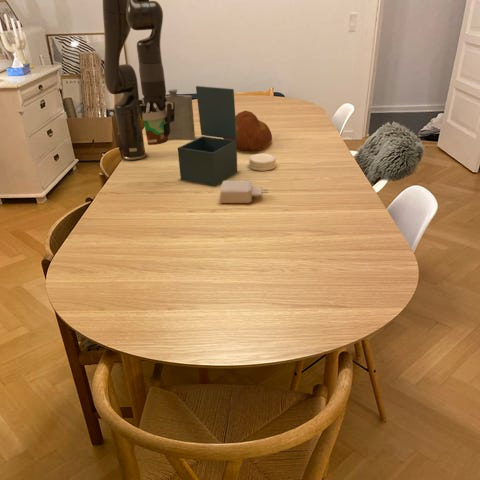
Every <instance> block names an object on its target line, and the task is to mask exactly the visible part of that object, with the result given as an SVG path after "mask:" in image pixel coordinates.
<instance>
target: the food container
mask: <svg viewBox="0 0 480 480" xmlns="http://www.w3.org/2000/svg"><path fill="white" fill-rule="evenodd" d="M165 108H166V107H165ZM166 110H167V109H165V110H163V111H159V112H152V111H149V112H148V113H142V114H143V115H142V118H143V120H142V121H143V124H144V125H143V126H144V130H145V136H146V142H147V145H148V146H155V145H156V146H157V145H162V144H165V143H167V142H168V141H169V140H168V136H164V126H163V125H164V124H163V118H165V120H166V117H167V111H166Z"/></svg>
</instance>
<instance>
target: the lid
mask: <svg viewBox="0 0 480 480" xmlns="http://www.w3.org/2000/svg"><path fill="white" fill-rule="evenodd" d="M195 92H196V100H197V101H196V102H197V110H198V117H199V126H200V135H201V136H204V137H211V138H219V139H223V138H226V139H234V140H236V139H237V133H236V118H235V117H236V104H235V103H236V101H235V91H234V88H225V87H214V86H203V85H202V86H200V85H196V86H195Z"/></svg>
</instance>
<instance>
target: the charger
mask: <svg viewBox="0 0 480 480" xmlns="http://www.w3.org/2000/svg"><path fill="white" fill-rule="evenodd" d="M263 194H269V189H263V187H262V186H254V184H253V182H252V181H251V180H224V181H223V182H221V187H220V203H221V204H249V203H251V202H252V201H253V197H260V198H261V197H263Z"/></svg>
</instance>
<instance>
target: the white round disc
mask: <svg viewBox="0 0 480 480" xmlns="http://www.w3.org/2000/svg"><path fill="white" fill-rule="evenodd" d="M276 160H277V157H276V156H275V155H273V154H270V153H256V154H253V155H251V156H250V157H249V159H248V166H249V168H250V169H251V170H254V171H258V172H264V171H266V172H267V171H271V170H274V169H275V168H276V166H277V164H276V163H277V161H276Z"/></svg>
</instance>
